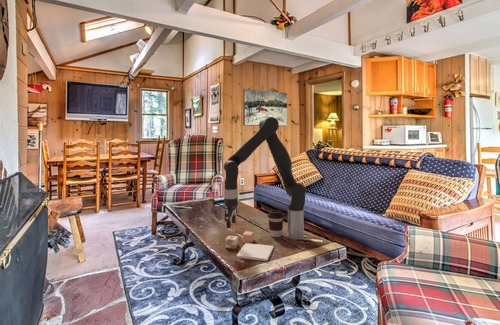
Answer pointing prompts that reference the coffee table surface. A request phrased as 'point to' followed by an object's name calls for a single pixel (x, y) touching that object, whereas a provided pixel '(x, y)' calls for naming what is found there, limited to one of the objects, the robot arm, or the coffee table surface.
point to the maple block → (231, 242)
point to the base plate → (255, 252)
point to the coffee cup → (275, 223)
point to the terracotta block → (248, 237)
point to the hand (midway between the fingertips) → (231, 225)
